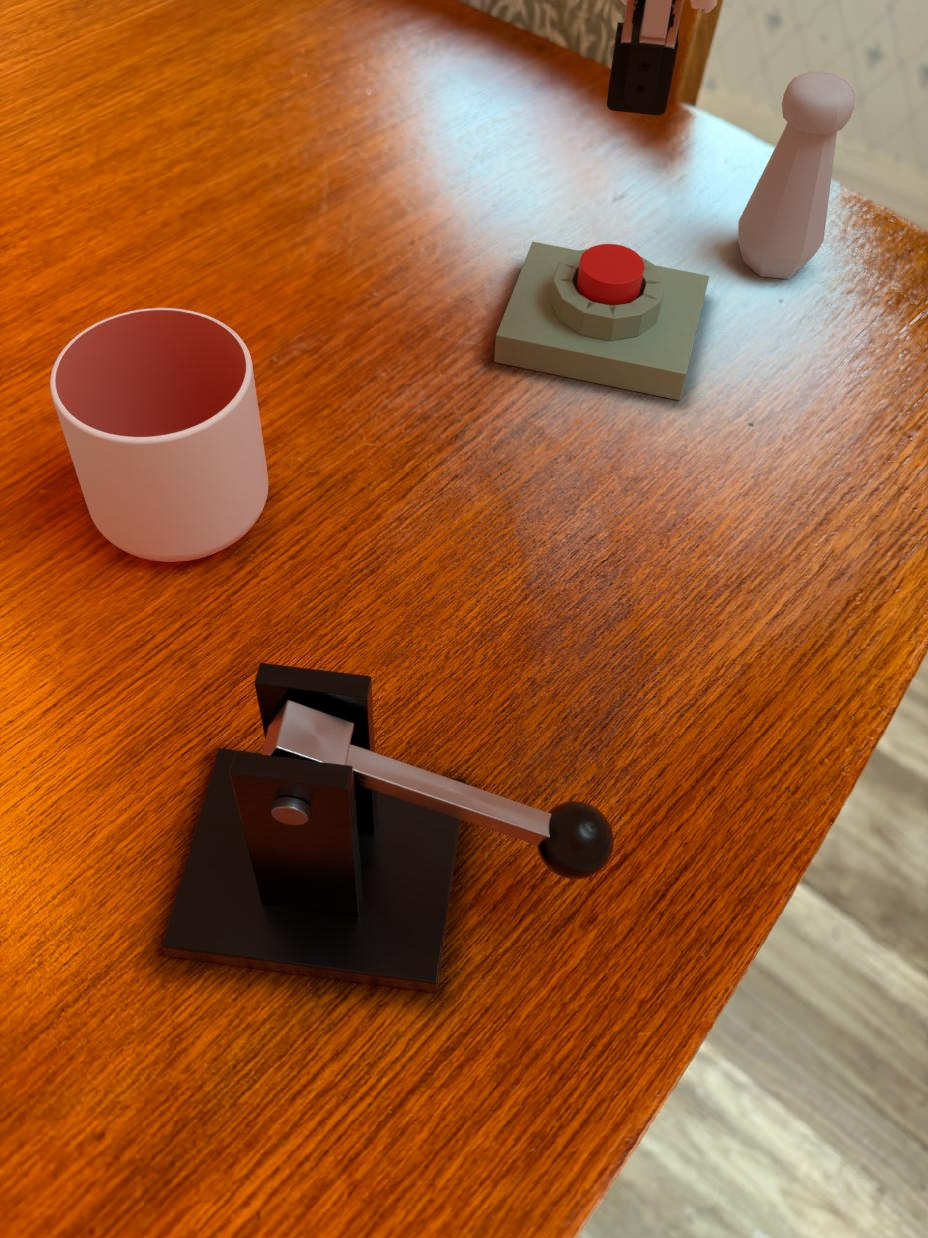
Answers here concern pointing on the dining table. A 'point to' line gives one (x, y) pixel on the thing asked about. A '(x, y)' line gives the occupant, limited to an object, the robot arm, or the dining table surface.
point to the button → (610, 274)
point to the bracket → (314, 858)
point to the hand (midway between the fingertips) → (635, 104)
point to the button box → (601, 325)
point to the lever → (447, 792)
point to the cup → (163, 431)
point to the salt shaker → (796, 178)
